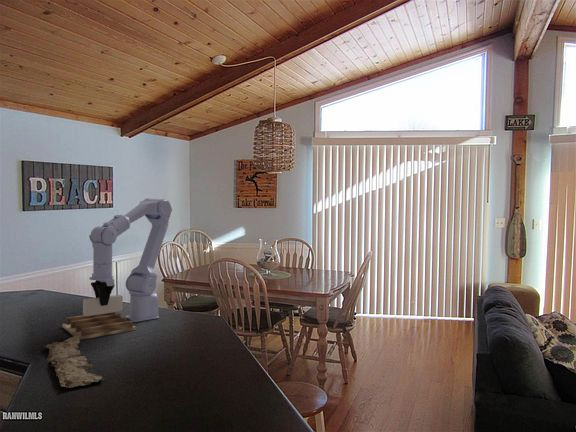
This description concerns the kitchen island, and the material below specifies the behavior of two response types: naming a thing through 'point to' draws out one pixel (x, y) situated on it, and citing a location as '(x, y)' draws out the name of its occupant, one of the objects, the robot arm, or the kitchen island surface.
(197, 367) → the kitchen island surface
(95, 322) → the drying rack
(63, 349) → the rock fragment
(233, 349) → the kitchen island surface
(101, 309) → the clay bar
